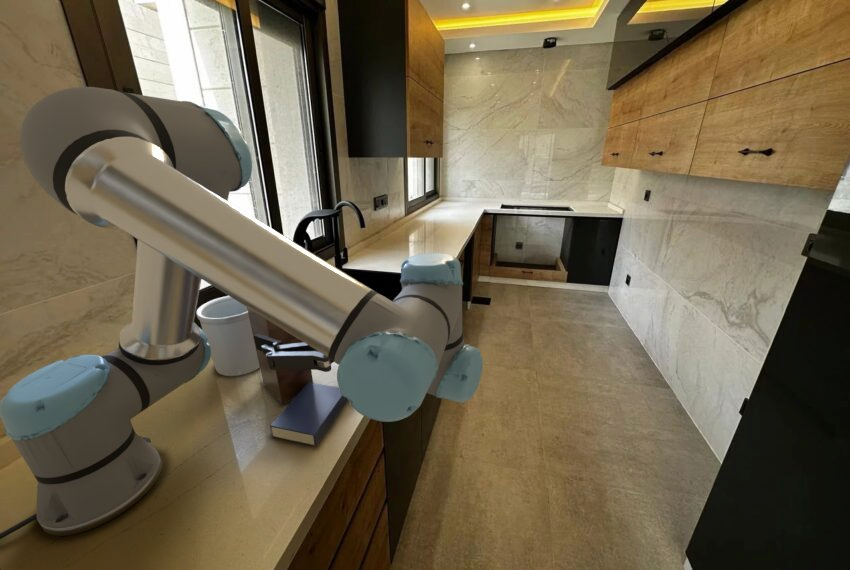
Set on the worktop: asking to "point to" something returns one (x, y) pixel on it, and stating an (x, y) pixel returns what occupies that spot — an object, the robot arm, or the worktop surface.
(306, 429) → the book
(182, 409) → the worktop surface
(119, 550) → the worktop surface
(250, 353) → the utensil holder
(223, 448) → the worktop surface
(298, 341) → the brown post
